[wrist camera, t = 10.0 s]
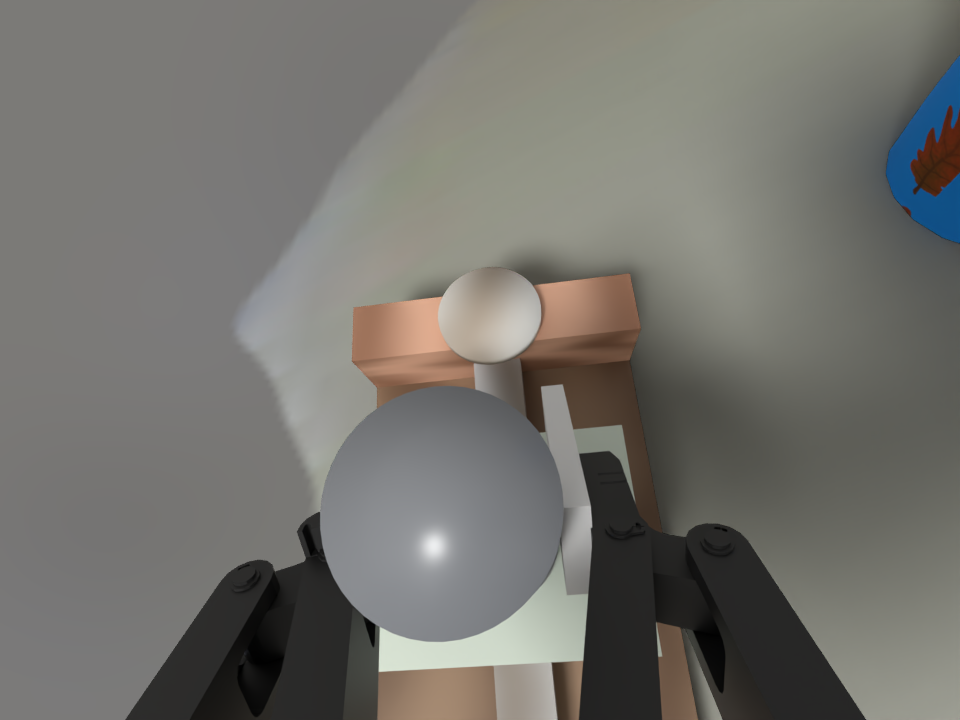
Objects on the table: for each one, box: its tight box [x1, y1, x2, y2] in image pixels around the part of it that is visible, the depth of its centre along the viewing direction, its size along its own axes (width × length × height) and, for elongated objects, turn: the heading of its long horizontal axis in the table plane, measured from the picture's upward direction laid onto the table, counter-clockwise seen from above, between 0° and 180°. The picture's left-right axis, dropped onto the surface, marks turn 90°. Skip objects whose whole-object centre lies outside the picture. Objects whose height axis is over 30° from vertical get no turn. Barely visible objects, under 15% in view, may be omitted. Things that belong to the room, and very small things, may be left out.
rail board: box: [352, 267, 698, 720], centre depth 22 cm, size 14×38×7 cm, turn 4°
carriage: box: [320, 386, 662, 672], centre depth 16 cm, size 10×8×16 cm
